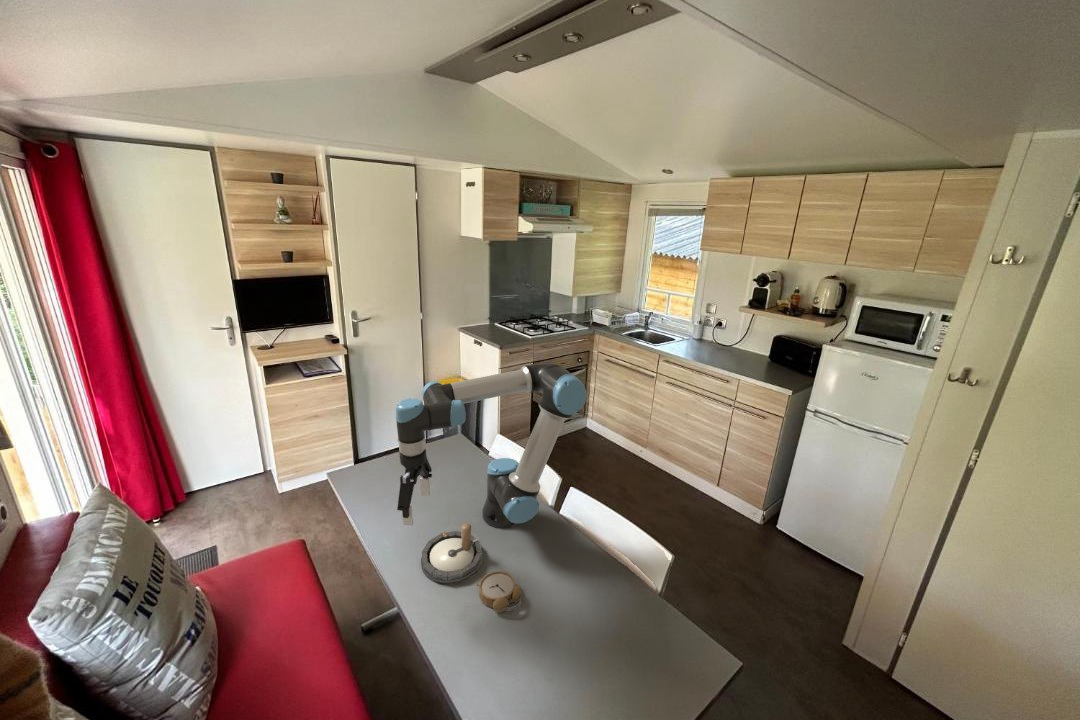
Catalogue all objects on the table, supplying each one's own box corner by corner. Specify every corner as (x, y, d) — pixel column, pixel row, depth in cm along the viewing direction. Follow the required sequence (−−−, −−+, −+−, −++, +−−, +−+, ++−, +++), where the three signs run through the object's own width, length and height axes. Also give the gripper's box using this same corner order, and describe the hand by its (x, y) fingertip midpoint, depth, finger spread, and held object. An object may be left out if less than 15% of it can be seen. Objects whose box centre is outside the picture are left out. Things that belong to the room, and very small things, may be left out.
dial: (441, 580, 135) (440, 556, 132) (422, 551, 146) (421, 528, 143) (481, 560, 144) (482, 537, 140) (461, 534, 154) (461, 512, 151)
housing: (477, 533, 157) (477, 525, 156) (487, 577, 139) (487, 568, 138) (419, 543, 151) (419, 534, 150) (422, 590, 133) (422, 580, 132)
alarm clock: (499, 565, 141) (530, 587, 130) (501, 578, 142) (531, 601, 131) (470, 583, 133) (500, 609, 122) (472, 597, 134) (502, 624, 123)
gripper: (417, 428, 140) (421, 483, 147) (380, 473, 117) (387, 536, 124) (439, 430, 139) (442, 486, 146) (406, 476, 116) (412, 539, 123)
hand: (417, 509), depth 135 cm, fingers open, 13 cm apart
